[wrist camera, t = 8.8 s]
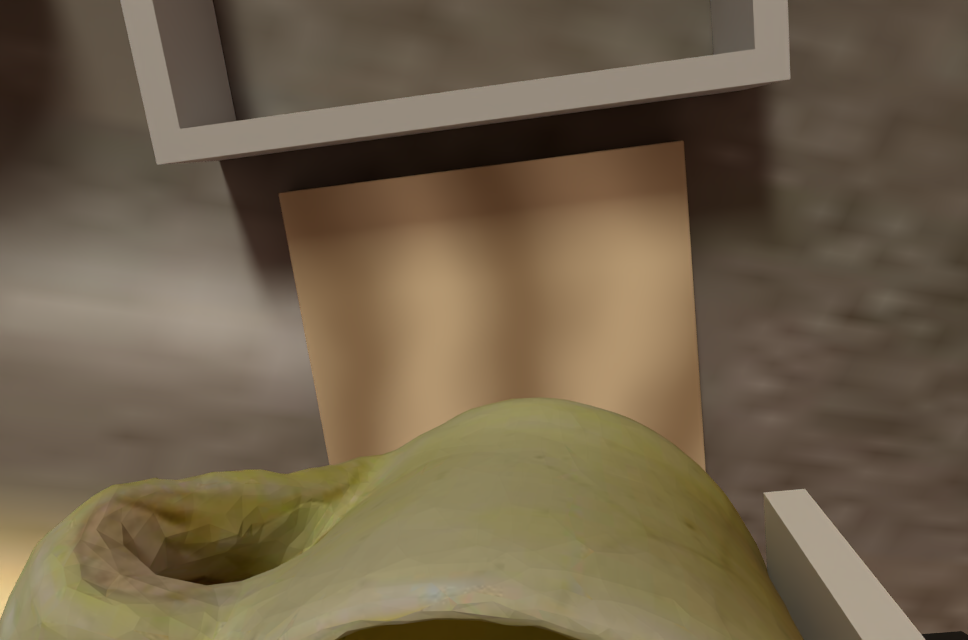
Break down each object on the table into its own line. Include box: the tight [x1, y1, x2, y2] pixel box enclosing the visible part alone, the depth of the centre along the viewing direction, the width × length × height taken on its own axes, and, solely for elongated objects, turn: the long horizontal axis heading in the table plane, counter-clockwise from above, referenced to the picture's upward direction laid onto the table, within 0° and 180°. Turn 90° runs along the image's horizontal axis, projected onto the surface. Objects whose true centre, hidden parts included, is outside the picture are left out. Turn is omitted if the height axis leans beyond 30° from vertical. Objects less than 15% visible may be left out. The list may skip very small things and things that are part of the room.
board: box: [278, 141, 706, 472], centre depth 30 cm, size 15×15×1 cm
